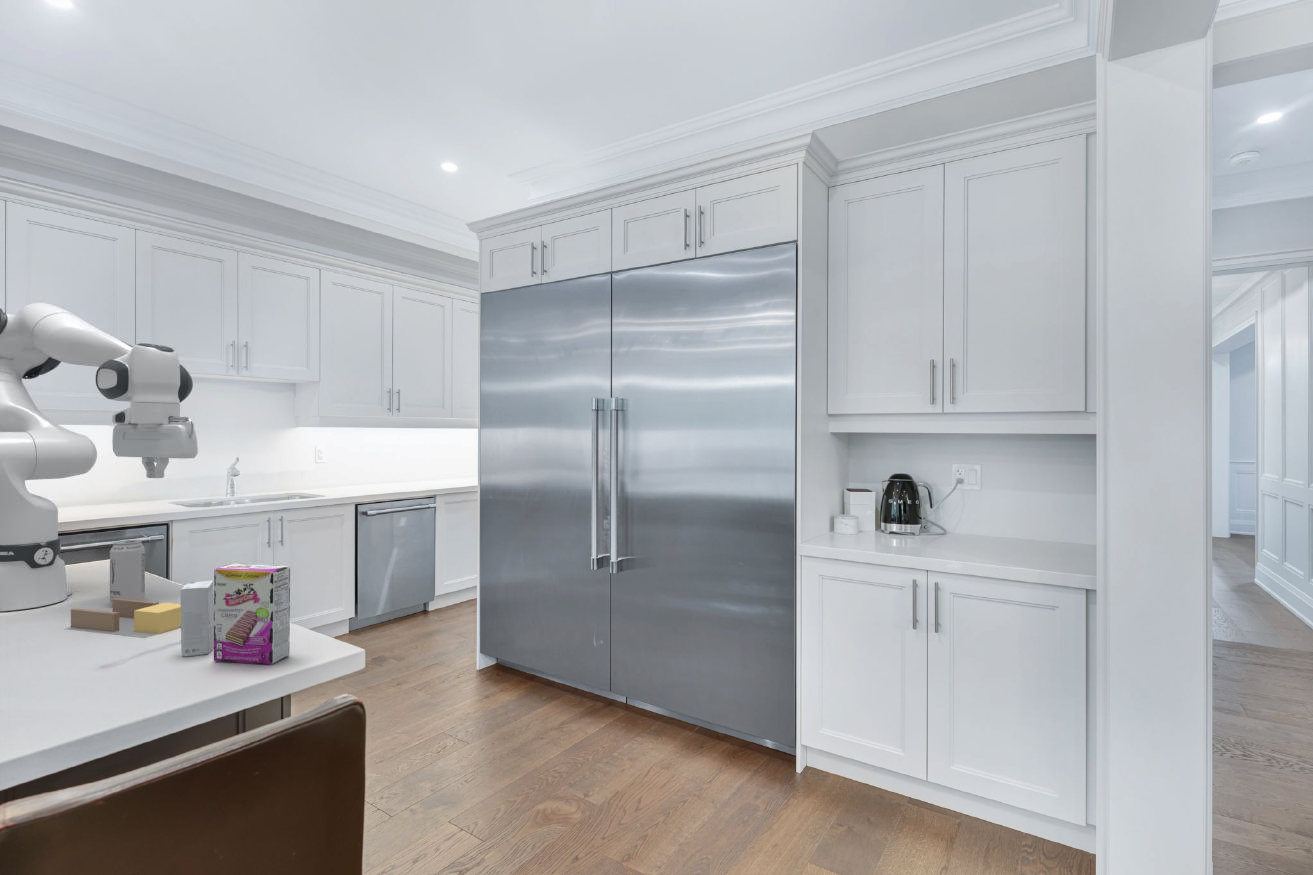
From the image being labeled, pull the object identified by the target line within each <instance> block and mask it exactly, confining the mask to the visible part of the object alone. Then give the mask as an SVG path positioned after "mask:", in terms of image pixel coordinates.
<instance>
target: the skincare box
mask: <svg viewBox="0 0 1313 875" xmlns="http://www.w3.org/2000/svg"><path fill="white" fill-rule="evenodd" d="M180 604H181V627H180V645H181V646H180V647H181V649H180V650H181V657H193V656H202V655H208V654H210V653H211V651H212V650H214V581H213V580H205V581H204V580H203V581H195V582H187V583H186V584H184V585H183V587H182V588H181V589H180Z"/></svg>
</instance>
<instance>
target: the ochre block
mask: <svg viewBox="0 0 1313 875" xmlns="http://www.w3.org/2000/svg"><path fill="white" fill-rule="evenodd" d="M179 628H181V603H173V602H172V603H171V602H162V603H159V604H157V605H153V606H150V607H146V608H142V609H138V610H134V631H138V632H147V633H156V634H157V635H160V634H163V633H166V632H170V631H173V630H176V629H179ZM169 630H170V631H169Z"/></svg>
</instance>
